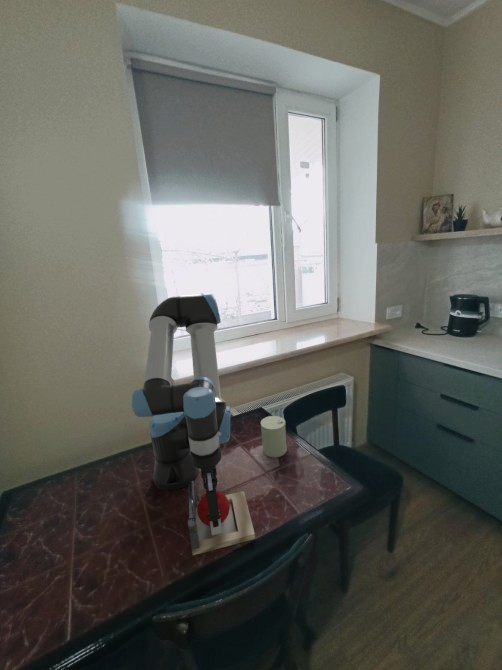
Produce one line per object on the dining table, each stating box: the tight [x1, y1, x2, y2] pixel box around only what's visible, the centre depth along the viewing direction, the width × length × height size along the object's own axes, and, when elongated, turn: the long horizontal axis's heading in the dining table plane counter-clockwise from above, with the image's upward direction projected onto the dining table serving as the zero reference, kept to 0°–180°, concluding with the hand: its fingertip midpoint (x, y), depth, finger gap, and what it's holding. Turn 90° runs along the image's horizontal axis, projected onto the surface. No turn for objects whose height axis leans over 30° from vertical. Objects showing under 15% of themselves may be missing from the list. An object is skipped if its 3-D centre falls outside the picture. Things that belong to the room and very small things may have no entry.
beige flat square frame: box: [191, 490, 256, 556], centre depth 81 cm, size 16×15×2 cm
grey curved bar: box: [187, 480, 200, 551], centre depth 78 cm, size 2×17×9 cm, turn 12°
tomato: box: [197, 490, 230, 526], centre depth 80 cm, size 9×9×8 cm
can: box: [260, 415, 288, 458], centre depth 109 cm, size 9×9×12 cm
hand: (215, 517), depth 81 cm, fingers closed on tomato, 9 cm apart
